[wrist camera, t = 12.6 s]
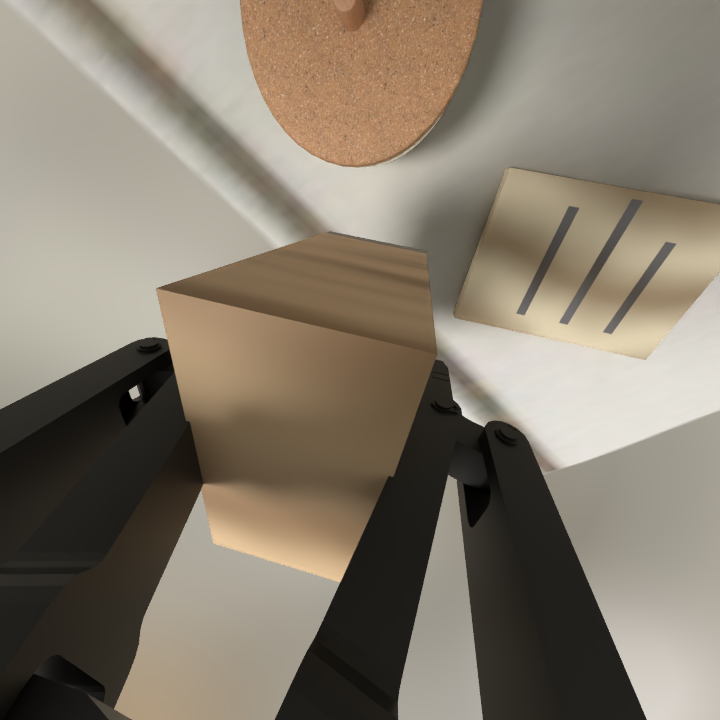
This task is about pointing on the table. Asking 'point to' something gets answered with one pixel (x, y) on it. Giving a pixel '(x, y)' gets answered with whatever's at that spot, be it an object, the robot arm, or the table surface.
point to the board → (590, 262)
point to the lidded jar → (359, 70)
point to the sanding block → (301, 390)
